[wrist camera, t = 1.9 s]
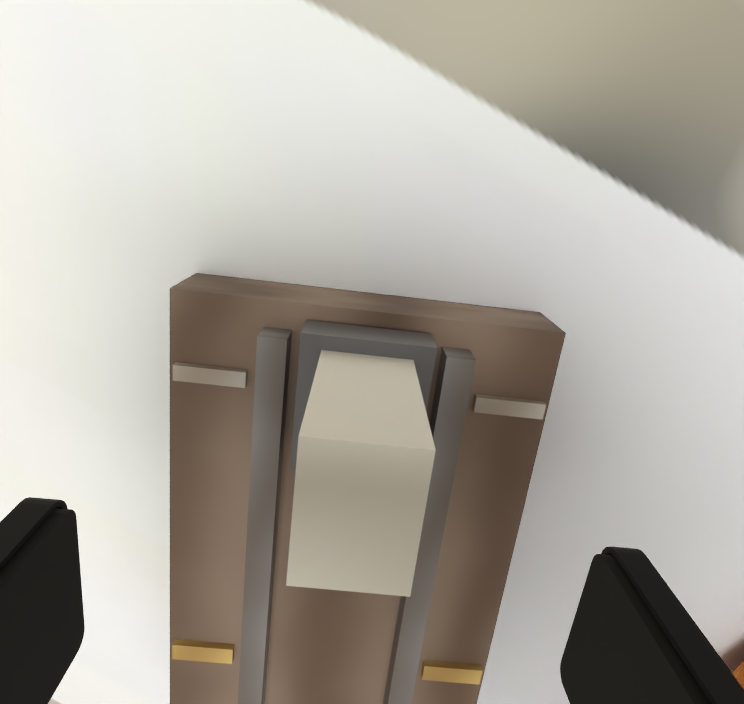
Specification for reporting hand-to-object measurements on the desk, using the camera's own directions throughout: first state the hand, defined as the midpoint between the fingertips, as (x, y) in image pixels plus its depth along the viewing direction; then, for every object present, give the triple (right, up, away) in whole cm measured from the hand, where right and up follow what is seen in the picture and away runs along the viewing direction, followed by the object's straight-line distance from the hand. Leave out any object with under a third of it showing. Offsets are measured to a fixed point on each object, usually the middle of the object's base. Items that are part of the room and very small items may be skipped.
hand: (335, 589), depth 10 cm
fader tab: (0, +3, +10) cm, 10 cm away
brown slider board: (-1, -4, +15) cm, 16 cm away
